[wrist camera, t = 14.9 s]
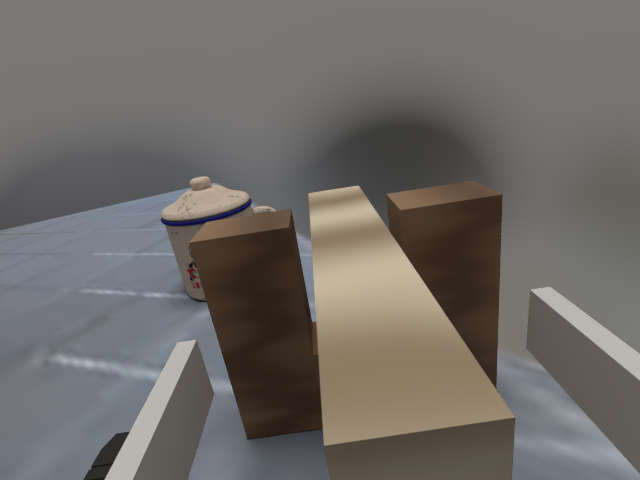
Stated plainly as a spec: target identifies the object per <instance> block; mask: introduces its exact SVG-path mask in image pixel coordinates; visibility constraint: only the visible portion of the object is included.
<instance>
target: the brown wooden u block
mask: <svg viewBox="0 0 640 480" xmlns="http://www.w3.org/2000/svg"><path fill="white" fill-rule="evenodd" d="M387 207H388V219H389V231H390V233H391V234H392V236H393V237H394V239H395V240H396V242H397V243H398V245H399V246H400V248H401V249H402V251H403V252H404V254H405V255H406V257H407V258H408V260H409V261H410V263H411V264H412V266H413V267H414V268H415V270H416V271H417V273H418V274H419V276H420V277H421V279H422V280H423V282H424V283H425V285H426V286H427V288H428V289H429V291H430V292H431V294H432V295H433V297H434V298H435V300H436V301H437V303H438V304H439V305H440V307H441V308H442V310H443V311H444V313H445V314H446V316H447V317H448V319H449V320H450V322H451V323H452V325H453V326H454V328H455V329H456V331H457V332H458V334H459V335H460V337H461V338H462V340H463V341H464V342H465V344H466V345H467V347H468V348H469V350H470V351H471V353H472V354H473V356H474V357H475V359H476V360H477V362H478V363H479V365H480V366H481V368H482V369H483V371H484V372H485V374H486V375H487V377H488V378H489V379H490V381H491V382H492V384H493V385H494V387H495V388H496V378H497V347H498V316H499V283H500V252H501V251H500V250H501V222H502V194H500V193H498V192H496V191H494V190H492V189H489V188H487V187H485V186H483V185H481V184H479V183H476V182H474V181H468V182H462V183H456V184H450V185H443V186H436V187H429V188H423V189H417V190H411V191H404V192H397V193H391V194H387ZM189 244H190V248H191V251H192V254H193V258H194V261H195V264H196V268H197V271H198V274H199V278H200V281H201V285H202V288H203V291H204V295H205V298H206V301H207V305H208V308H209V311H210V315H211V318H212V321H213V325H214V328H215V331H216V335H217V338H218V341H219V345H220V348H221V351H222V355H223V358H224V362H225V365H226V368H227V372H228V375H229V378H230V382H231V385H232V388H233V392H234V395H235V398H236V402H237V405H238V408H239V412H240V415H241V418H242V422H243V425H244V429H245V432H246V435H247V439H252V438H259V437H266V436H273V435H280V434H287V433H294V432H301V431H308V430H315V429H322V428H323V422H322V406H321V389H320V373H319V356H318V340H317V323H316V322H312V319H311V314H310V309H309V303H308V298H307V292H306V287H305V281H304V276H303V271H302V265H301V260H300V254H299V249H298V243H297V238H296V232H295V227H294V222H293V216H292V211H291V209H287V210H281V211H274V212H268V213H261V214H255V215H248V216H242V217H235V218H229V219H222V220H216V221H209V222H206V223H205V224H204V225H203V226H202V228H201V229H200V230H199V231H198V232H197V234H196V235H195V236H194V237H193V238H192V240H191V241H190V242H189Z"/></svg>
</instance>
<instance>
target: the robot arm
mask: <svg viewBox="0 0 640 480" xmlns="http://www.w3.org/2000/svg"><path fill="white" fill-rule="evenodd" d="M526 348H527V349H528V351H529V352H530V353H531V354H532V355H533V356H534V357H535V358H536V359H537V360H538V362H539V363H540V364H541V365H542V366H543V367H544V368H545V369H546V370H547V372H548V373H549V374H550V375H551V376H552V377H553V378H554V379H555V380H556V381H557V383H558V384H559V385H560V386H561V387H562V388H563V389H564V390H565V391H566V393H567V394H568V395H569V396H570V397H571V398H572V399H573V400H574V401H575V402H576V404H577V405H578V406H579V407H580V408H581V409H582V410H583V411H584V412H585V413H586V415H587V416H588V417H589V418H590V419H591V420H592V421H593V422H594V423H595V425H596V426H597V427H598V428H599V429H600V430H601V431H602V432H603V433H604V434H605V436H606V437H607V438H608V439H609V440H610V441H611V442H612V443H613V444H614V446H615V447H616V448H617V449H618V450H619V451H620V452H621V453H622V454H623V455H624V457H625V458H626V459H627V460H628V461H629V462H630V463H631V464H632V465H633V467H634V468H635V469H636V470H637V471H638V472H639V473H640V354H639V353H638V352H636V351H635V350H634V349H632V348H631V347H630V346H628V345H627V344H625V343H624V342H623V341H621V340H620V339H619V338H618V337H616V336H615V335H613V334H612V333H611V332H610V331H608V330H607V329H606V328H604V327H603V326H601V325H600V324H599V323H598V322H596V321H595V320H594V319H592V318H591V317H589V316H588V315H587V314H586V313H584V312H583V311H581V310H580V309H579V308H577V307H576V306H575V305H574V304H572V303H571V302H570V301H568V300H567V299H566V298H564V297H563V296H561V295H560V294H559V293H558V292H556V291H555V290H554V289H552V288H551V287H546V288H540V289H532V290H530V301H529V317H528V331H527V345H526ZM213 396H214V392H213V389H212V386H211V383H210V380H209V377H208V374H207V370H206V367H205V364H204V361H203V358H202V355H201V352H200V349H199V346H198V343H197V340H191V341H185V342H178V343H177V344H176V346H175V348H174V350H173V352H172V354H171V356H170V357H169V359H168V361H167V363H166V365H165V367H164V369H163V371H162V372H161V374H160V376H159V378H158V380H157V382H156V384H155V386H154V388H153V389H152V391H151V393H150V395H149V397H148V399H147V401H146V403H145V404H144V406H143V408H142V410H141V412H140V414H139V416H138V418H137V420H136V421H135V423H134V425H133V427H132V429H131V431H130V432H125V433H118V434H116V435H115V436H114V437H113V438H112V439H111V440H110V441H109V442H108V443H107V444H106V445H105V446H104V447H103V448H102V449H101V451H100V453H99V454H98V456H97V458H96V459H95V461H94V463H93V464H92V466H91V467H92V468H91V470H89V471H88V473H87V475H86V476H85V478H84V480H188V477H189V473H190V470H191V467H192V464H193V460H194V457H195V454H196V451H197V448H198V444H199V441H200V438H201V435H202V432H203V428H204V425H205V422H206V419H207V415H208V412H209V409H210V406H211V403H212V399H213Z"/></svg>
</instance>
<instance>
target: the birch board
mask: <svg viewBox="0 0 640 480" xmlns="http://www.w3.org/2000/svg"><path fill="white" fill-rule="evenodd" d="M309 209H310V225H311V241H312V258H313V274H314V291H315V307H316V323H317V340H318V356H319V373H320V389H321V406H322V422H323V438H324V449H325V454H326V459H327V464H328V469H329V474H330V479H331V480H512V463H513V445H514V428H515V417H514V415H513V414H512V412H511V411H510V409H509V408H508V406H507V405H506V403H505V402H504V400H503V399H502V397H501V396H500V394H499V393H498V391H497V390H496V388H495V387H494V385H493V384H492V382H491V381H490V379H489V378H488V377H487V375H486V374H485V372H484V371H483V369H482V368H481V366H480V365H479V363H478V362H477V360H476V359H475V357H474V356H473V354H472V353H471V351H470V350H469V348H468V347H467V345H466V344H465V342H464V341H463V340H462V338H461V337H460V335H459V334H458V332H457V331H456V329H455V328H454V326H453V325H452V323H451V322H450V320H449V319H448V317H447V316H446V314H445V313H444V311H443V310H442V308H441V307H440V305H439V304H438V303H437V301H436V300H435V298H434V297H433V295H432V294H431V292H430V291H429V289H428V288H427V286H426V285H425V283H424V282H423V280H422V279H421V277H420V276H419V274H418V273H417V271H416V270H415V268H414V267H413V266H412V264H411V263H410V261H409V260H408V258H407V257H406V255H405V254H404V252H403V251H402V249H401V248H400V246H399V245H398V243H397V242H396V240H395V239H394V237H393V236H392V234H391V233H390V231H389V230H388V229H387V227H386V226H385V224H384V223H383V221H382V220H381V218H380V217H379V215H378V214H377V212H376V211H375V209H374V208H373V206H372V205H371V203H370V202H369V200H368V199H367V198H366V196H365V195H364V193H363V192H362V190H361V189H360V187H359V186H353V187H347V188H341V189H334V190H327V191H321V192H315V193H309Z"/></svg>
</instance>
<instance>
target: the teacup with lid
mask: <svg viewBox="0 0 640 480" xmlns="http://www.w3.org/2000/svg"><path fill="white" fill-rule="evenodd" d="M190 186H191V188H192V189H191V190H189V191H187V192H185V193H184V194H183V195H182V196H181V197H180V198H179V199H178V200H177V201H176V202H175V203H173V204H171V205H169V206H168V207H166V208H165V209H164V210H163V211H162V214H161V217H162V218H161V222H162V223H163V224H165V226H166V229H167V232H168V235H169V238H170V242H171V245H172V248H173V251H174V254H175V257H176V261H177V264H178V267H179V270H180V273H181V276H182V279H183V283H184V286H185V289H186V292H187V294H188V295H189V296H191V297H192V298H195V299H198V300H206V298H205V295H204V291H203V288H202V285H201V281H200V278H199V274H198V271H197V268H196V264H195V261H194V258H193V254H192V251H191V248H190V244H189V242H190V241H191V240H192V238H193V237H194V236H195V235H196V234H197V232H198V231H199V230H200V229H201V228H202V226H203V225H204V224H205V223H206V222H209V221H216V220H222V219H229V218H235V217H242V216H248V215H255V214H261V213H268V212H274V211H276V210H275V209H273V208H271V207H268V206H260V207H256V208H252V209H251V207H250V205H251V203H252V201H251V199H250V198H249V195H248V194H247V193H245V192H243V191H235V190H230V189H227V188H225V187H222V186H218V185H211V181H210V179H209V178H208V177H199V178H194V179H192V180H191V181H190Z"/></svg>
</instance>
